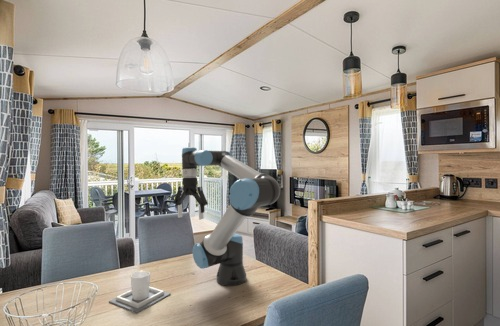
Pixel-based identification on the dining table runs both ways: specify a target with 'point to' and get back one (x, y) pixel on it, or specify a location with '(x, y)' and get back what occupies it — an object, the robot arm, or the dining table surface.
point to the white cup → (140, 285)
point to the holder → (139, 305)
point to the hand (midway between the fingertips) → (190, 218)
